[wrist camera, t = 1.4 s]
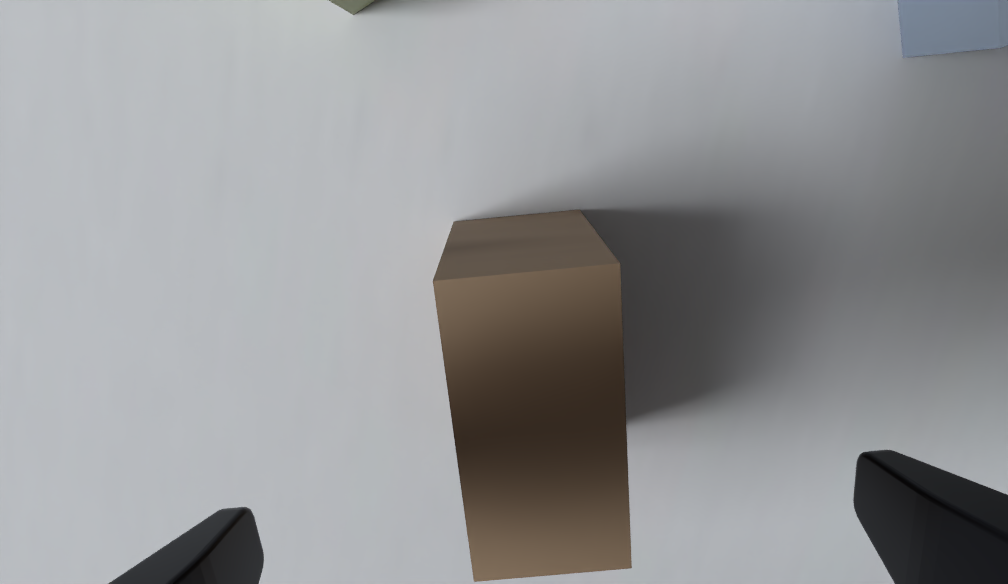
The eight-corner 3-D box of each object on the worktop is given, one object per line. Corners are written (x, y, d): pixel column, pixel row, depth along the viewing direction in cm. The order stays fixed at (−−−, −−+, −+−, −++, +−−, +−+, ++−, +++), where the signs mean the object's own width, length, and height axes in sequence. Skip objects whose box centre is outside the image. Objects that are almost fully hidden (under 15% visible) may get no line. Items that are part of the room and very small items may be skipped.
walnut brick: (591, 430, 16) (631, 568, 11) (480, 440, 16) (474, 581, 11) (579, 208, 14) (620, 263, 10) (454, 221, 14) (432, 280, 10)
